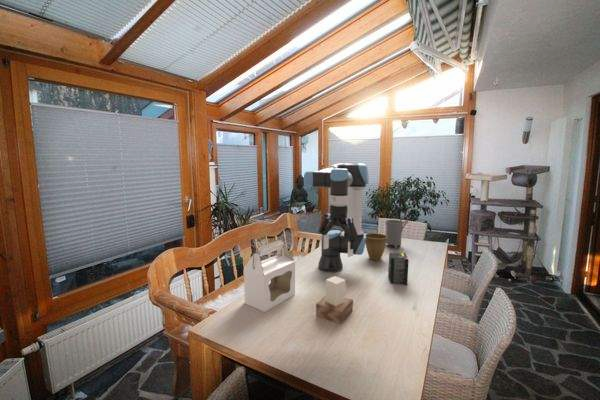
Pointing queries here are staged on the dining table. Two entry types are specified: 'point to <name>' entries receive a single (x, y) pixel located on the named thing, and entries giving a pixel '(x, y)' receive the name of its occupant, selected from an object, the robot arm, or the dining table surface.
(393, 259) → the tampon box
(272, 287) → the gable box
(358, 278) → the dining table surface
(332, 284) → the cream block
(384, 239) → the plant pot
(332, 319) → the walnut block
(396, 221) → the grey pitcher
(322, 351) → the dining table surface
